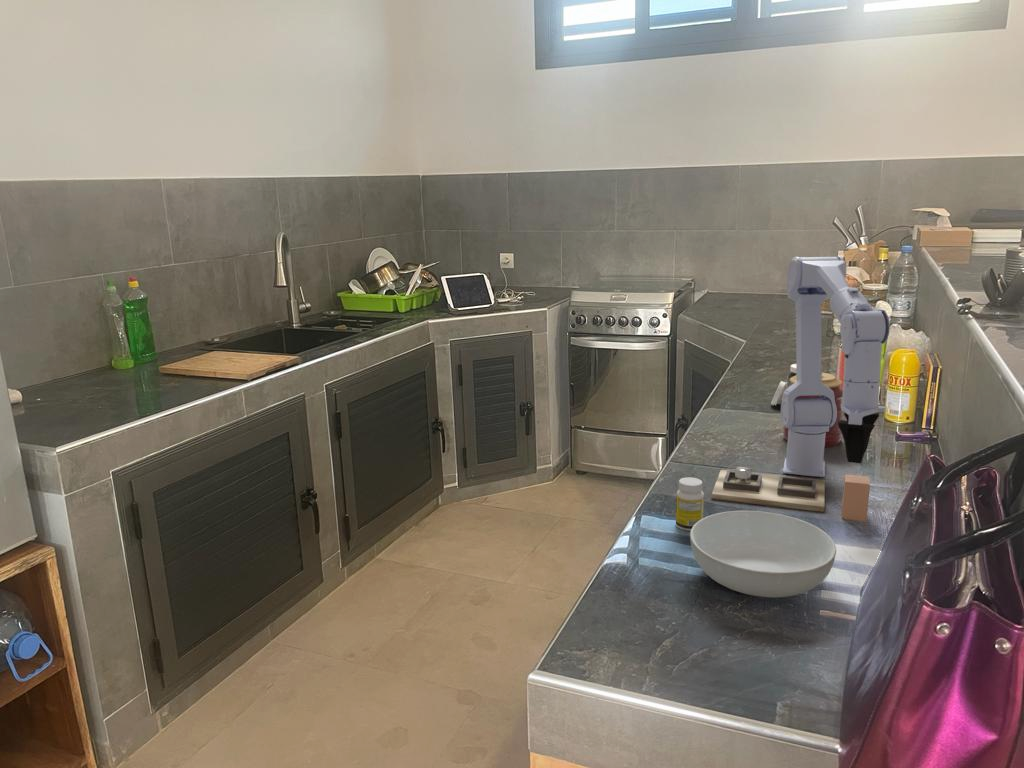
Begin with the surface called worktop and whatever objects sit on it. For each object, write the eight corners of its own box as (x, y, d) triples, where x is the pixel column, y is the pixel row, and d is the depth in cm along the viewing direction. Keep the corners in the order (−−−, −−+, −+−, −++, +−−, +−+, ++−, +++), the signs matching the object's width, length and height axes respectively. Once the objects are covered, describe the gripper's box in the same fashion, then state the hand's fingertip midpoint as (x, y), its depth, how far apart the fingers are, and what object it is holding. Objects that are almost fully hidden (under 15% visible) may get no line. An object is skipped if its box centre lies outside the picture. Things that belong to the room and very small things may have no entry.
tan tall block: (841, 510, 143) (844, 474, 142) (865, 513, 142) (869, 476, 140) (841, 518, 140) (845, 481, 138) (866, 521, 138) (870, 484, 136)
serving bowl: (661, 581, 119) (662, 539, 117) (733, 537, 133) (735, 500, 131) (791, 633, 104) (795, 586, 103) (856, 578, 118) (860, 536, 117)
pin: (735, 480, 156) (736, 466, 155) (751, 482, 155) (752, 467, 154) (733, 485, 153) (734, 471, 152) (749, 487, 152) (750, 472, 151)
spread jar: (822, 414, 203) (826, 370, 201) (778, 414, 204) (781, 371, 201) (806, 402, 215) (809, 360, 212) (765, 402, 215) (767, 361, 213)
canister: (842, 434, 186) (848, 362, 182) (839, 451, 175) (846, 374, 171) (785, 428, 192) (789, 358, 187) (778, 444, 180) (783, 369, 176)
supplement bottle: (683, 518, 141) (685, 474, 139) (707, 524, 138) (709, 480, 136) (670, 527, 137) (672, 482, 135) (695, 534, 134) (697, 488, 132)
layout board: (720, 474, 162) (721, 464, 162) (824, 485, 155) (825, 474, 155) (711, 498, 150) (712, 487, 149) (823, 512, 142) (824, 500, 142)
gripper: (883, 388, 127) (878, 470, 129) (889, 375, 139) (885, 449, 141) (837, 385, 130) (832, 465, 132) (846, 373, 142) (843, 445, 145)
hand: (856, 457), depth 137 cm, fingers open, 7 cm apart
